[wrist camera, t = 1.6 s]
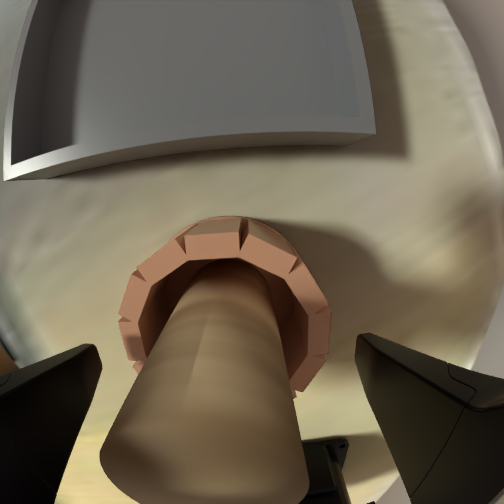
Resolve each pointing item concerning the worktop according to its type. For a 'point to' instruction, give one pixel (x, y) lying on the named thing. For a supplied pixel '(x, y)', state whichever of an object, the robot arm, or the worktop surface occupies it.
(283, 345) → the pink short hollow cylinder
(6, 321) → the worktop surface
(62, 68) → the tray
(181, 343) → the dowel
